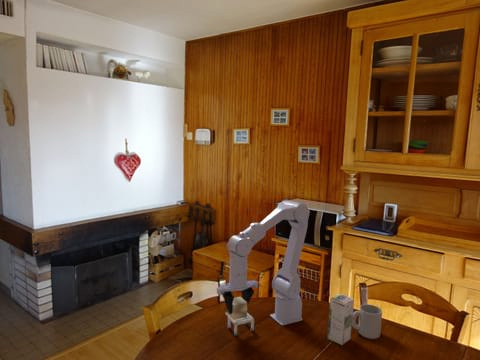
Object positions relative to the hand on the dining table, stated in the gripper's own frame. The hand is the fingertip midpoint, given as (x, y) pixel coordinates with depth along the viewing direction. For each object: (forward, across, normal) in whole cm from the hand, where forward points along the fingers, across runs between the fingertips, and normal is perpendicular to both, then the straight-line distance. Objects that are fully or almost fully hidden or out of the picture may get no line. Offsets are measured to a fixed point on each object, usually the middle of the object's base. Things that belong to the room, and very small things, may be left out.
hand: (237, 311), depth 118 cm
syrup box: (+9, -30, +17) cm, 36 cm away
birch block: (+2, 0, 0) cm, 2 cm away
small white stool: (+8, -3, -2) cm, 9 cm away
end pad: (+8, -6, -11) cm, 15 cm away
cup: (+9, -41, +18) cm, 46 cm away
